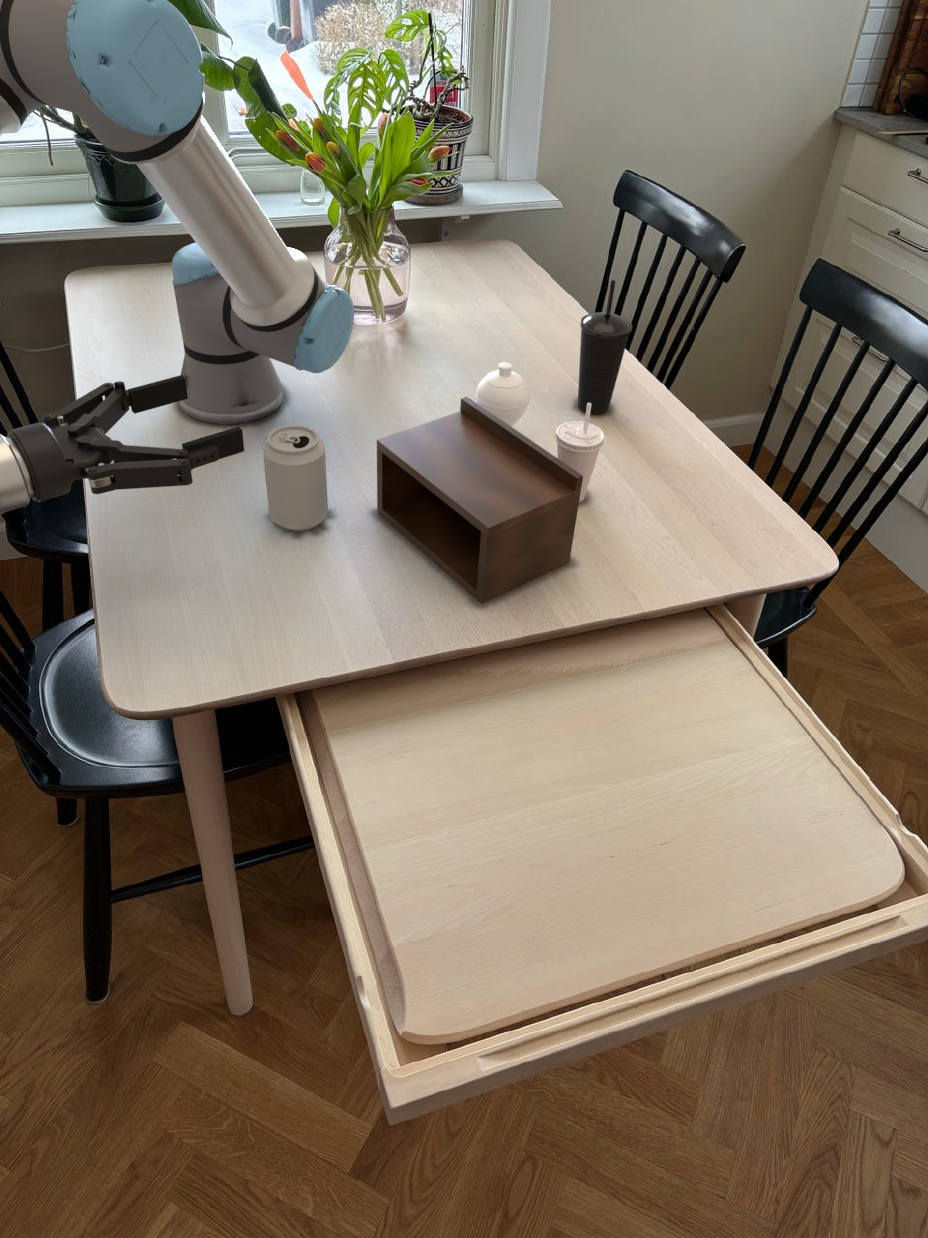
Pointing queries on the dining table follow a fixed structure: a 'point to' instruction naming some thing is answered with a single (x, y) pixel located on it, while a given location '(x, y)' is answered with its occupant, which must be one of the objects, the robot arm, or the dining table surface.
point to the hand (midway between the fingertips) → (212, 411)
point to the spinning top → (504, 394)
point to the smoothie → (580, 447)
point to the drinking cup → (601, 356)
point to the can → (295, 477)
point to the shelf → (479, 499)
